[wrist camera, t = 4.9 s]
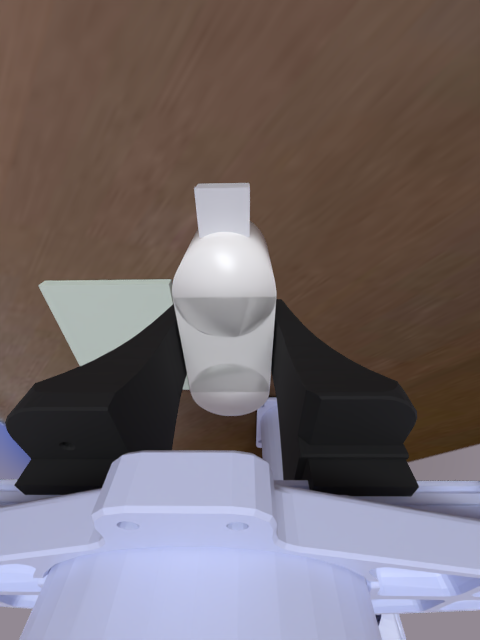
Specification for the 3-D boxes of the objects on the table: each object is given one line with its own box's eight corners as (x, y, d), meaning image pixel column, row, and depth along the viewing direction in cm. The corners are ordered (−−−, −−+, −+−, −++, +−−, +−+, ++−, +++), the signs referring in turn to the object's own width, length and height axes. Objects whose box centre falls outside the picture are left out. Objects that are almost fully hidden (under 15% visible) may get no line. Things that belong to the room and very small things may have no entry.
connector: (262, 359, 16) (267, 415, 13) (205, 359, 16) (195, 416, 13) (271, 176, 10) (284, 195, 7) (181, 178, 11) (153, 197, 7)
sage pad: (190, 383, 27) (189, 389, 27) (96, 383, 27) (92, 389, 27) (171, 279, 20) (168, 284, 20) (44, 280, 21) (38, 285, 20)
